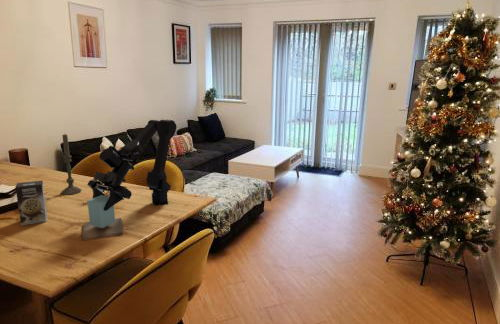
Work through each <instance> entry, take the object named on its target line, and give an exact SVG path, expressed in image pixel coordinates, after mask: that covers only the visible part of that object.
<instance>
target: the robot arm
mask: <svg viewBox="0 0 500 324" xmlns="http://www.w3.org/2000/svg"><path fill="white" fill-rule="evenodd" d="M177 128H178V127H177V124H176V122H175V121H174V120H168V119H160V120H157V119H149V120H148V121H147V124H146V125H145V126H144V128H142V130H141V131H140V132H139V133H138V134H137V136H136V137H135V138H134V139H133V140H132V141H129V142H127V143H126V144H124V145H123V146H122V147H121V148H120V149H117V148H116V147H115V146H114V145H109V146H108V147H107V148H105V149H103V150H102V151H101V152H100V153H99V159H100V160H101V161H102V162H104V164H106V166H108V167H109V168H112V169H111V171H107V172H106V173H103V172H99V171H95V173H94V176H93V178H92V179H91V180H89V181H88V182H87V184H86V185H87V186H88V187H89V188H90V189H91V190H92V198H95V197H98V196H101V195H102V196H104V195H105V193H104V192H105V191H107V192H108V191H109V192H110V193H109V194H110V197H109V199H108V201H107V203H106V205H105V207H104V210H105V211H107V210H108V209H109V208H111V207H112V206H113V205H114V206H115V205H117V204H118V203H119V202H122V201H123V200H125V199H127V200H130V199H131V197H132V191H131V190H130V189H128V188H127V187H126V186H123V185H122V183H126V182H127V181H126V179H125V178H126V176H127V175H128V173H129V171H130V170H131V171H134V170H135V166H134V163H132V162H137V161H138V160H140V157H141V156H142V154H143V153H144V151H143V150H144V147H145V146H146V145H147V144H148V142H149V141H150V140H151V138H153V136H154V135H155V134H156V133H157V135H158V142H157V146H156V147H157V148H156V153H155V159H154V162H153V163H154V164H153V169H151V171H148V172H147V177H146V178H145V181H146V185H147V186H148V188H149V190H150V191H152V192H151V202H152V204H153V206H159V205H160V206H162V205H168V204H169V201H168V200H169V199H168V193H169V191H170V190H171V189H172V186H171V184H170V183H168V181H167V174H166V171H165V169H166V163H167V157H168V153H169V148H170V147H169V146H170V142H171V139H172V138H173V137H174V136H175V134H176V131H177ZM130 161H131V162H130ZM96 180H97V181H96ZM99 181H101V183H100V182H99ZM102 183H103V184H102Z"/></svg>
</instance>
